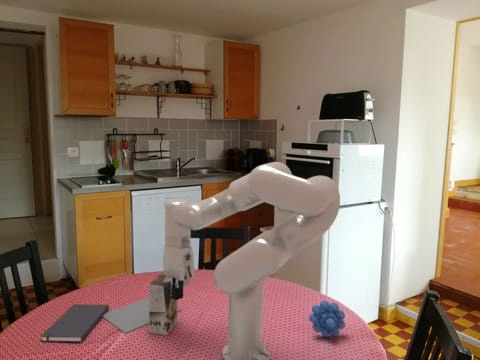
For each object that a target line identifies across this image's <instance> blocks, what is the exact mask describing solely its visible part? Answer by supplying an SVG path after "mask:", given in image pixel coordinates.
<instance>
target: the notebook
mask: <svg viewBox="0 0 480 360" xmlns="http://www.w3.org/2000/svg"><path fill="white" fill-rule="evenodd" d="M109 309H110V305H109V304H80V303H79V304H72V305H71V306H70V307H69V308H68V309H67V310H66V311H65V312H64V313H63V314H62V315H61V316H60V317H59V318H57V320H56V321H54V323H52V324H51V325H50V326H49V327H48V328H47V329H46V330H45V331H44V332H43V333H42V334H41V335H40V337H41V342H56V343H57V342H58V343H59V342H60V343H61V342H63V343H71V342H72V343H82V342H83V341H84V340H85V338H86V337H87V336H88V335H89V334H90V332H92V330H93V329H94V327H96V325H97V324H98V323H99V321H100V320H101V319H103V315H104V314H105V313H107V312H109Z"/></svg>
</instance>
